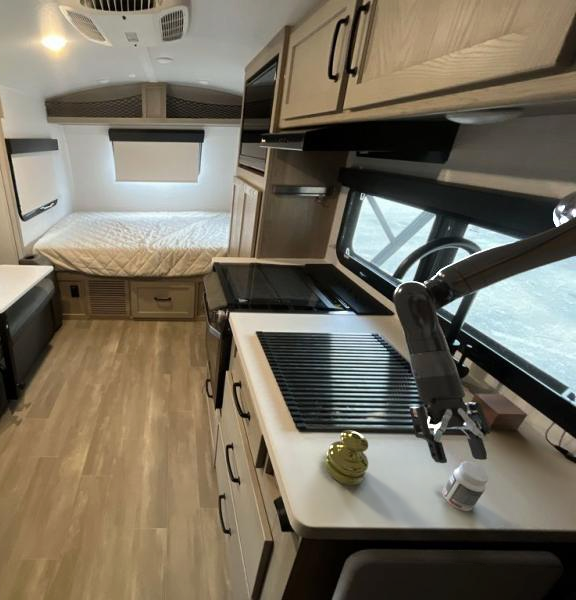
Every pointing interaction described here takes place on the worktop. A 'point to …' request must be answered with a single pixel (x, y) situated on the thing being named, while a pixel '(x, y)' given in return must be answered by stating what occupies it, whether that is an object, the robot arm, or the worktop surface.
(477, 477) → the pill bottle
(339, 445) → the gold metal rounded figure
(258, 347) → the worktop surface
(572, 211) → the robot arm
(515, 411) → the walnut block
